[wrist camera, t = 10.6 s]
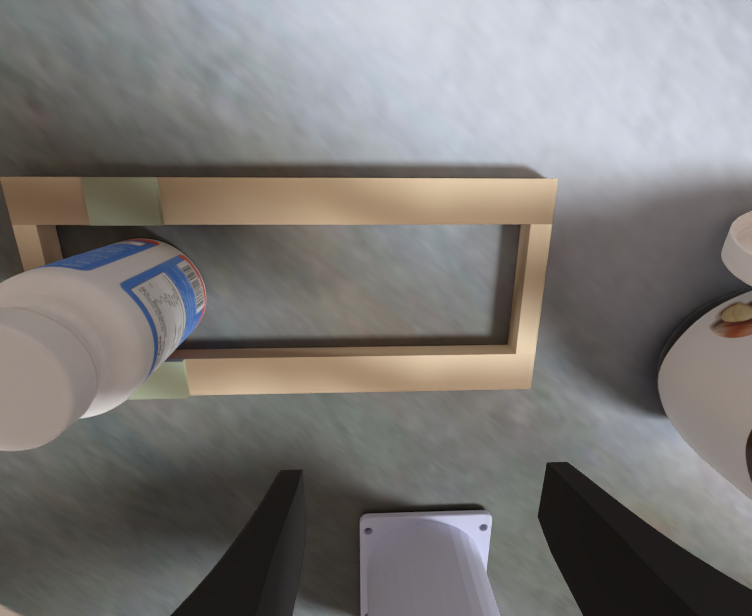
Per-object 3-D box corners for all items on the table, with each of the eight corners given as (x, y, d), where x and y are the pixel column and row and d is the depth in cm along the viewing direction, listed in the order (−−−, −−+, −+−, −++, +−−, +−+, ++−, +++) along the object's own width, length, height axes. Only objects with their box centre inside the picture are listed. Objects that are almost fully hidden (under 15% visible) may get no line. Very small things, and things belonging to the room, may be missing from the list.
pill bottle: (80, 310, 21) (-142, 421, 11) (120, 215, 19) (-97, 254, 10) (185, 360, 22) (58, 498, 13) (229, 273, 20) (123, 356, 11)
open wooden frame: (521, 378, 23) (532, 391, 22) (72, 386, 22) (53, 400, 20) (546, 178, 20) (561, 178, 18) (21, 176, 19) (-7, 176, 17)
